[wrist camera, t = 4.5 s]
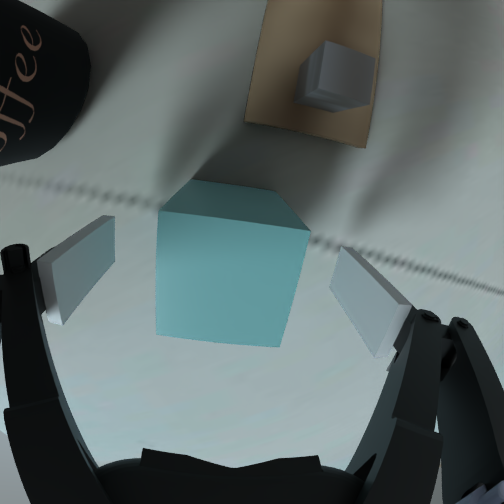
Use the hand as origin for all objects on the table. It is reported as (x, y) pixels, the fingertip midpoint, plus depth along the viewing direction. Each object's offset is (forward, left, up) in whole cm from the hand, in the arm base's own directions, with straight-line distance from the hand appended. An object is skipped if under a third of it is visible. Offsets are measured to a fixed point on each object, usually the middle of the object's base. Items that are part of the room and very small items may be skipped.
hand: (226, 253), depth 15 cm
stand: (+4, +15, -4) cm, 16 cm away
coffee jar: (-16, +9, -4) cm, 19 cm away
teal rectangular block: (0, 0, -4) cm, 4 cm away
